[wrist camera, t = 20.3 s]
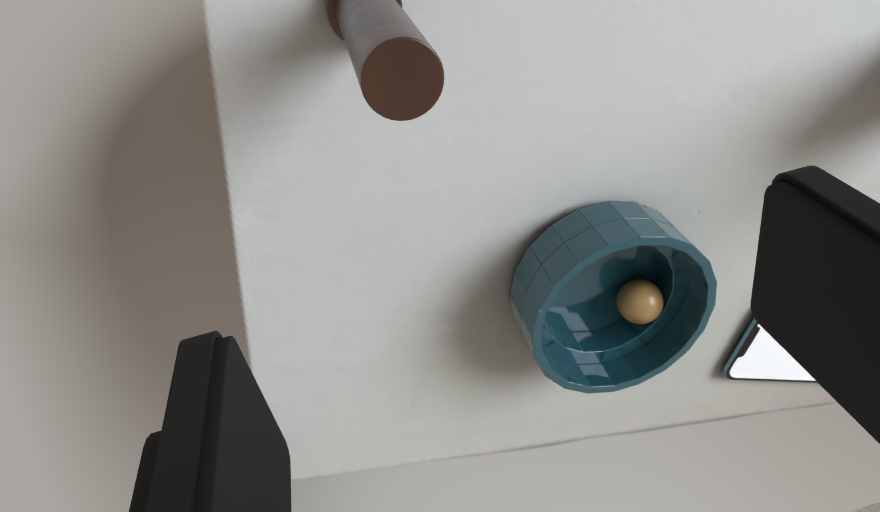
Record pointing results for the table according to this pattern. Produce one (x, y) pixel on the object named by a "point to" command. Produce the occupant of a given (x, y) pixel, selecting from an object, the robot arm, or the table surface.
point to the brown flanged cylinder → (388, 56)
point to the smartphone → (763, 360)
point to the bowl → (609, 296)
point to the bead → (640, 301)
